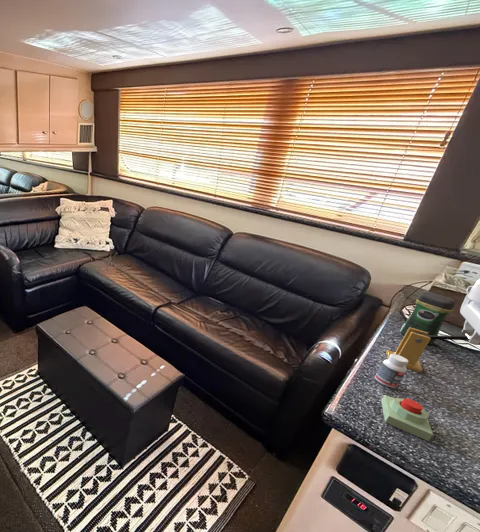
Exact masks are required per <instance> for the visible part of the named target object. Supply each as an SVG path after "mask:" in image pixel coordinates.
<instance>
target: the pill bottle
mask: <svg viewBox="0 0 480 532" xmlns="http://www.w3.org/2000/svg"><path fill="white" fill-rule="evenodd" d="M407 364H408V360H407V359H406V358H404V357H402V356H400V355H397V354H390V356H389V358H387V359H384V360H383V361H382V362H381V364H380V366H379V368H378V370H377V372H376V373H375V374H374V379H375V380H376V381H377V382H378V383H380V384H381V385H383V386H385V387H389V388H391V389H392V388H393V389H394V388H395V389H396V388H398V387H399V385H400V383H401V381H402V380H403V378H404V377H405V375H406V373H407V371H408V368H406V367H405V366H406V365H407Z"/></svg>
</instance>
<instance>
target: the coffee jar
mask: <svg viewBox="0 0 480 532" xmlns="http://www.w3.org/2000/svg"><path fill="white" fill-rule="evenodd" d="M456 302H457V301H456V299H454V298H451V297H447V296H444V295H441V294H439V293H434V292H431V291H428V290H427V291H422V292H421V293H420V294H419V296H418V297H417V298H416V300H415V305H414V308H413V310H412V312H411V313H410V315H409V317H407V319H406V320H405V322H404V323H403V324H402V326H401V328H400V330H399V332H400V333H401V334H402V335H403V336H405V334H406V332H407V330H408V329H409V327H411V328H414V329H418V330H421V331H424V332H428V335H439V333H440V330H441V328H442V326H443V324H444V322H445V319H446V317H447V316H448V315H449V314H451V313H452V312H453V311H454V309H455V306H456ZM435 341H436V340H430V341H429V343H428V344H430V345H432V344H434V343H435ZM428 344H427V345H428Z"/></svg>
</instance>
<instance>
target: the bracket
mask: <svg viewBox="0 0 480 532" xmlns="http://www.w3.org/2000/svg"><path fill="white" fill-rule="evenodd" d="M417 333H423V335H421V334H417ZM424 335H428V332H424V331H421V330H418V329H414V328H411V327H409V329H408V330H407V332H406V334H405V335H403V338H402V339H401V341H400V343H399V345H398V346H397V348H396V350H395V351H392V350H389V349H387V350H386V351H385V354H386V358H387V359H388V358H389V356H390V354H397V355H400V356H402V357H404V358H406V359H407V360H408V364H407V365H406V366H405V367H406V369H407V370H411V371H413V372H416V373H420V374H421V373H422V372H423V368H422V365H421V363H420V360H419V359H420V358H421V356H422V355H423V353H424V351H425V350H426V347H427V346H428V343H429V341H430V339H431V338H430V337H427V336H424Z"/></svg>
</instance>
